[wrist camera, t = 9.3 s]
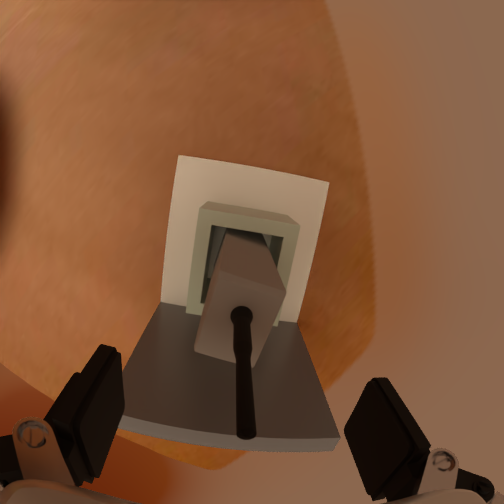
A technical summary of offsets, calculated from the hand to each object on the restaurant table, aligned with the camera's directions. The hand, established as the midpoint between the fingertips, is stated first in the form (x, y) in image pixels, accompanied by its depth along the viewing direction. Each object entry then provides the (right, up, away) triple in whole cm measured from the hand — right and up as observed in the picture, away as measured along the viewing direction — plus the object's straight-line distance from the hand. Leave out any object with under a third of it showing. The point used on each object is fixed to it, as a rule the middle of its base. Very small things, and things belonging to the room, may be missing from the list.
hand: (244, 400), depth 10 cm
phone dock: (-1, +6, +23) cm, 24 cm away
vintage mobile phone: (-1, +6, +22) cm, 23 cm away
